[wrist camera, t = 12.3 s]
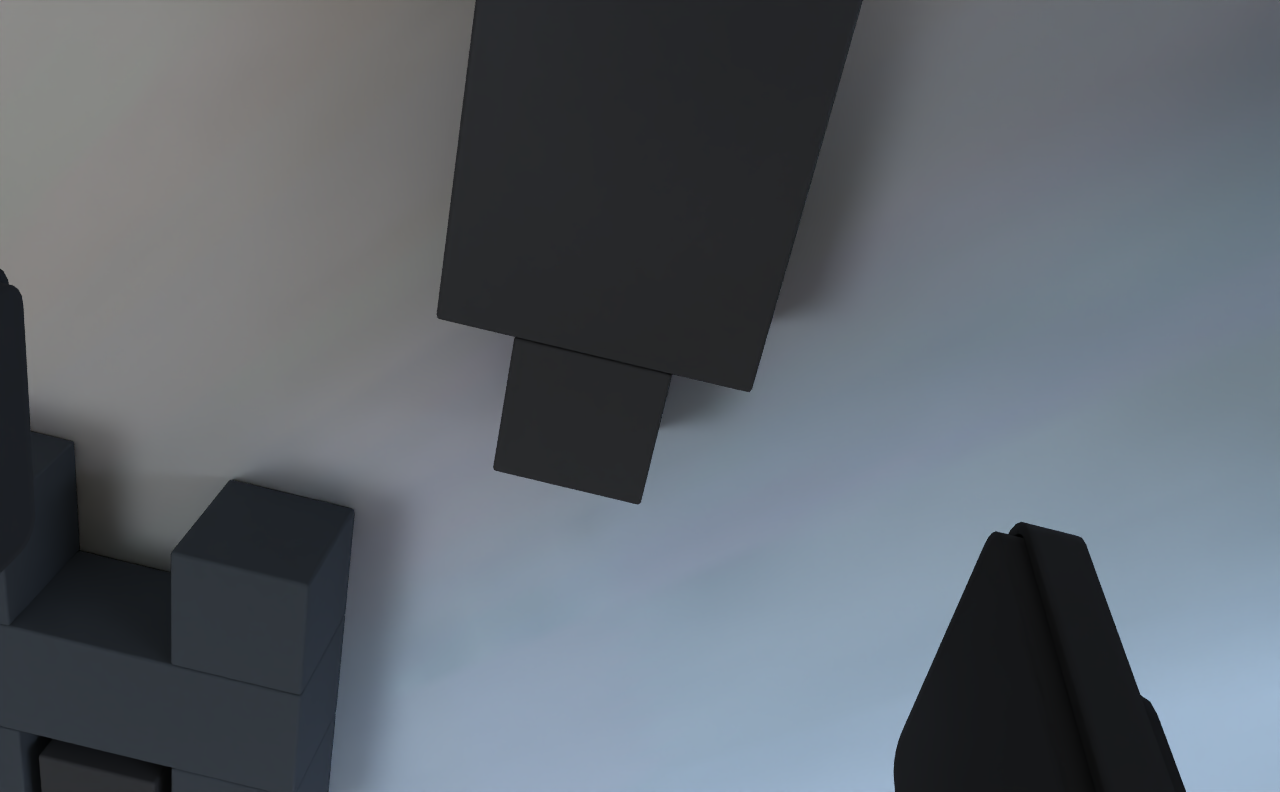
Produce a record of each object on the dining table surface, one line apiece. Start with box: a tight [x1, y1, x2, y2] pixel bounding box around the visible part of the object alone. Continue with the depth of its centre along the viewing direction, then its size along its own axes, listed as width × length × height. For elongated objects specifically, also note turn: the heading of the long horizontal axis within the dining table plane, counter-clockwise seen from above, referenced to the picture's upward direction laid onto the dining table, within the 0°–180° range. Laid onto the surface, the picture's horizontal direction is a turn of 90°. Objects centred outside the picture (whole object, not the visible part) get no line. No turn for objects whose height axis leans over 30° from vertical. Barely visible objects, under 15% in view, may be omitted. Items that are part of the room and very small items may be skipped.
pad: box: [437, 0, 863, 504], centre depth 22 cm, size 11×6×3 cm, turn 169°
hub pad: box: [0, 432, 354, 792], centre depth 29 cm, size 10×10×3 cm
